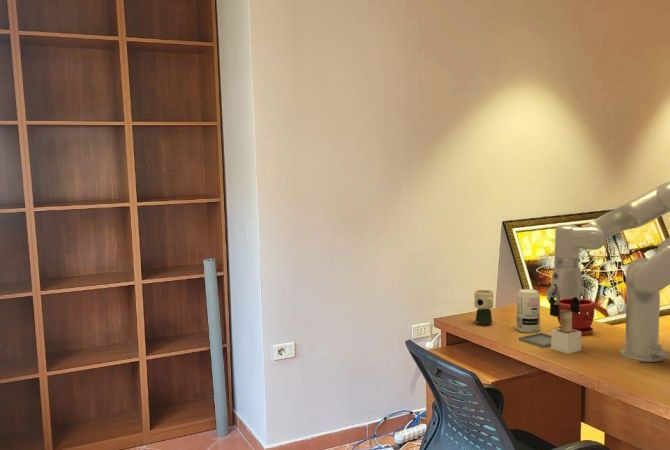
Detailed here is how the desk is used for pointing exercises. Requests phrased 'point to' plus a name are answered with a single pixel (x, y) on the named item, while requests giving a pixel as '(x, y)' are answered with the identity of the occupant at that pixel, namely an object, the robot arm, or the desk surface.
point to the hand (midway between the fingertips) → (564, 314)
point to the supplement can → (528, 311)
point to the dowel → (566, 321)
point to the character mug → (483, 306)
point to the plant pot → (580, 315)
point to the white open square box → (566, 341)
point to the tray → (537, 339)
